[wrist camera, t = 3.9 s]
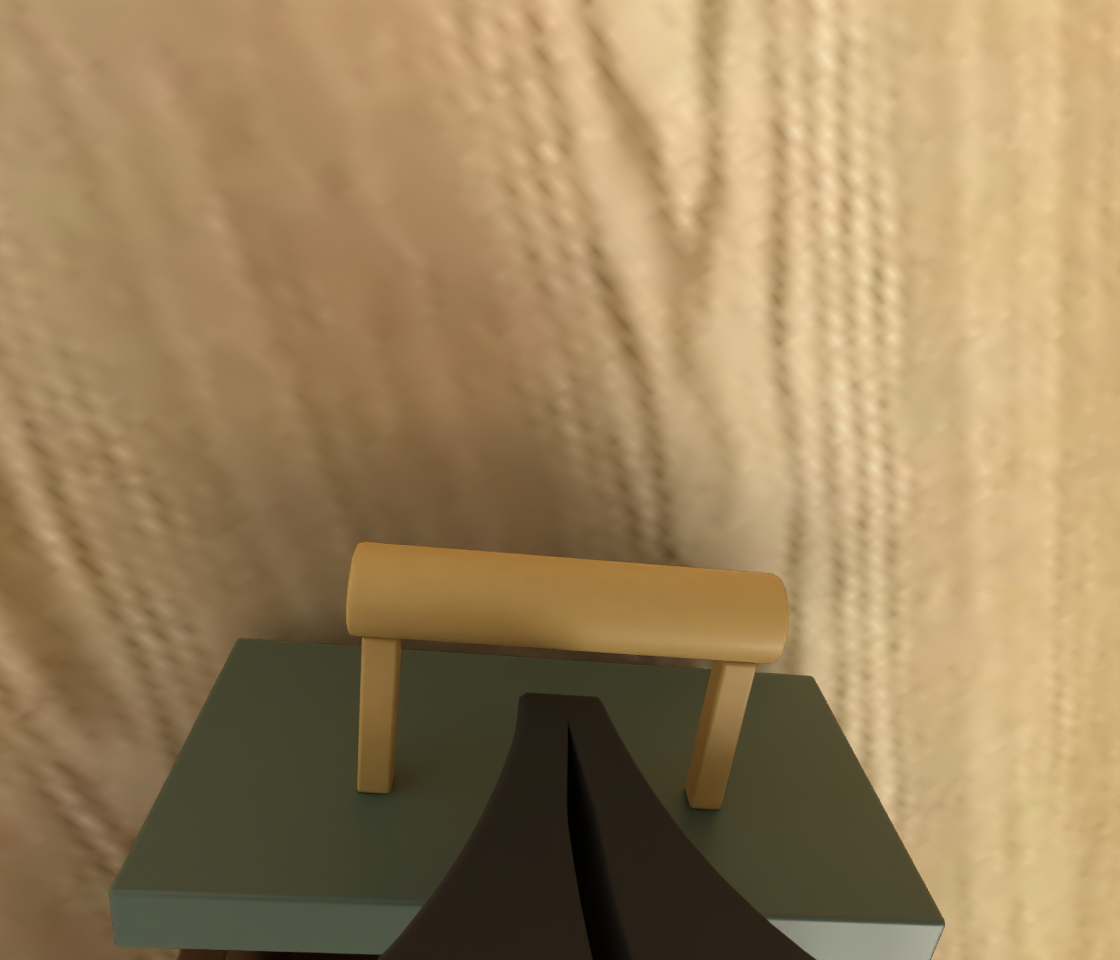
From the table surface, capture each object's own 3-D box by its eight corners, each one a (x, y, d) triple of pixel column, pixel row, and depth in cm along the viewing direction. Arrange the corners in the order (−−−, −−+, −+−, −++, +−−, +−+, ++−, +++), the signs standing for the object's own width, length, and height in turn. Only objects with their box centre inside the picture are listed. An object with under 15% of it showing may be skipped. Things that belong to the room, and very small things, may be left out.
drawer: (230, 435, 17) (72, 620, 11) (865, 492, 18) (1047, 685, 12) (251, 1036, 24) (163, 1355, 18) (707, 1045, 25) (771, 1345, 19)
